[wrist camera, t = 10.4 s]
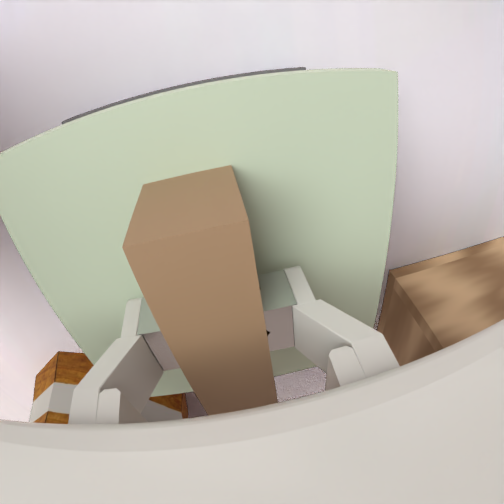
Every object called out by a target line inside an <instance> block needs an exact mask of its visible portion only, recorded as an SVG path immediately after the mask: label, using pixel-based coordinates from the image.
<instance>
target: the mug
mask: <svg viewBox="0 0 504 504" xmlns="http://www.w3.org/2000/svg"><path fill="white" fill-rule="evenodd" d="M93 366H94V365H93V364H92V362H91V361H90V360H89V358H88V357H87V356H86V355H85V353H72V352H59V351H58V352H57V354H56V355H55V356H54V357H53V358H52V359H51V360H50V361H49V362H48V363H47V364H46V365H45V367H44V368H43V369H42V370H41V371H40V372H39V373H38V374H37V375H36V380H35V388H34V397H33V404H32V409H31V413H30V418H29V422H34V423H50V424H68V421H69V414H70V408H71V402H72V397H73V391H74V389H75V388H76V386H77V385H78V384H79V383H80V382H81V380H82V379H83V378H84V377H85V375H86V374H87V373H88V372H89V371H90V369H91V368H92V367H93ZM141 415H142V416H143V417H144V418H145V419H146V420H147V421H148V422H156V421H167V420H177V419H185V418H188V409H187V403H186V396H185V393H179V394H171V395H163V396H154V397H150V398H149V400H148V401H147V403H146V405H145V407H144V409H143V410H142V412H141Z"/></svg>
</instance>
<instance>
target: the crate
mask: <svg viewBox="0 0 504 504" xmlns="http://www.w3.org/2000/svg"><path fill="white" fill-rule="evenodd" d="M503 319H504V237H501V238H498V239H495V240H492V241H489V242H485V243H482V244H479V245H476V246H472V247H469V248H466V249H463V250H459V251H456V252H453V253H449V254H446V255H442V256H439V257H435V258H432V259H428V260H425V261H421V262H418V263H414V264H411V265H407V266H403V267H400V268H396V269H392V270H389V275H388V281H387V286H386V291H385V296H384V301H383V306H382V310H381V315H380V320H379V324H378V328H377V331H378V332H380V333H382V334H383V336H384V338H385V340H386V341H387V343H388V345H389V347H390V349H391V350H392V352H393V354H394V356H395V358H396V360H397V362H398V364H399V365H400V366H402V365H405V364H408V363H410V362H413V361H415V360H418V359H420V358H423V357H425V356H428V355H430V354H432V353H435V352H437V351H439V350H442V349H444V348H446V347H448V346H451V345H453V344H455V343H457V342H459V341H462V340H464V339H466V338H468V337H470V336H472V335H474V334H476V333H478V332H480V331H482V330H484V329H486V328H488V327H490V326H492V325H494V324H496V323H497V322H499V321H501V320H503Z"/></svg>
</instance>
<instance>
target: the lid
mask: <svg viewBox="0 0 504 504" xmlns="http://www.w3.org/2000/svg"><path fill="white" fill-rule="evenodd" d="M397 143H398V72H396V71H391V70H385V69H377V68H339V69H314V70H299V71H287V72H277V73H267V74H259V75H251V76H244V77H237V78H231V79H225V80H219V81H213V82H208V83H203V84H198V85H193V86H188V87H184V88H179V89H175V90H171V91H166V92H162V93H158V94H154V95H151V96H147V97H143V98H140V99H136V100H133V101H129V102H126V103H123V104H119V105H116V106H113V107H110V108H107V109H104V110H101V111H98V112H95V113H92V114H89V115H86V116H83V117H81V118H78V119H75V120H73V121H70V122H68V123H65V124H62V125H60V126H57V127H55V128H53V129H50V130H48V131H45V132H43V133H41V134H39V135H36V136H34V137H32V138H30V139H27V140H25V141H23V142H21V143H19V144H17V145H15V146H13V147H11V148H9V149H7V150H5V151H3V152H1V153H0V216H1V218H2V220H3V222H4V224H5V226H6V229H7V231H8V233H9V235H10V237H11V239H12V241H13V242H14V244H15V246H16V248H17V250H18V252H19V254H20V256H21V257H22V259H23V261H24V263H25V265H26V266H27V268H28V270H29V272H30V273H31V275H32V277H33V279H34V280H35V282H36V284H37V285H38V287H39V288H40V290H41V292H42V293H43V295H44V296H45V298H46V300H47V301H48V303H49V304H50V306H51V307H52V309H53V310H54V312H55V313H56V315H57V316H58V318H59V319H60V321H61V322H62V323H63V325H64V326H65V328H66V329H67V331H68V332H69V333H70V335H71V336H72V337H73V339H74V340H75V342H76V343H77V344H78V346H79V347H80V348H81V349H82V351H83V352H84V353H85V355H86V356H87V357H88V358H89V360H90V361H91V362H92V364H93V365H95V363H96V362H97V361H98V360H99V359H100V357H101V356H102V355H103V354H104V353H105V352H106V350H107V349H108V348H109V347H110V346H111V344H112V343H113V342H114V341H115V340H116V339H118V338H121V332H122V326H123V320H124V315H125V309H126V304H127V302H128V300H129V299H135V298H141V297H144V298H145V300H146V302H147V304H148V306H149V308H150V310H151V312H152V315H153V317H154V319H155V321H156V323H157V325H158V327H159V329H160V331H161V332H162V334H163V336H164V338H165V340H166V342H167V344H168V346H169V348H170V350H171V352H172V354H173V355H174V357H175V359H176V361H177V363H178V365H179V366H180V368H178V369H172V370H166V371H163V372H164V373H163V375H162V376H161V378H160V380H159V382H158V384H157V385H156V387H155V389H154V391H153V392H152V394H151V396H150V397H154V396H163V395H171V394H179V393H187V392H194V393H195V394H196V396H197V398H198V399H199V401H200V403H201V404H202V406H203V408H204V409H205V411H206V413H207V414H208V415H215V414H221V413H228V412H233V411H239V410H245V409H250V408H255V407H260V406H265V405H270V404H274V403H278V401H277V394H276V388H275V382H274V377H275V376H279V375H284V374H288V373H292V372H296V371H300V370H304V369H308V368H312V367H316V366H317V365H315V364H314V363H313V362H312V361H311V360H309V359H308V358H307V357H306V356H305V355H303V354H302V353H301V352H300V351H299V350H297V349H296V348H295V346H294V347H289V348H284V349H279V350H274V351H270V350H269V344H268V338H267V332H266V325H265V319H264V313H263V306H262V300H261V294H260V288H259V281H258V275H259V274H264V273H269V272H273V271H278V270H283V269H285V268H289V267H294V266H298V265H299V266H300V267H301V269H302V271H303V273H304V275H305V277H306V279H307V281H308V284H309V286H310V288H311V290H312V292H313V295H314V297H315V299H316V300H320V299H321V300H323V301H325V302H326V303H328V304H330V305H332V306H334V307H335V308H337V309H339V310H341V311H342V312H344V313H346V314H348V315H350V316H351V317H353V318H355V319H357V320H359V321H360V322H362V323H364V324H366V325H367V326H369V327H371V328H374V323H375V318H376V314H377V309H378V304H379V299H380V293H381V288H382V282H383V277H384V271H385V264H386V258H387V251H388V244H389V237H390V229H391V221H392V212H393V202H394V191H395V178H396V163H397Z"/></svg>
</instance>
